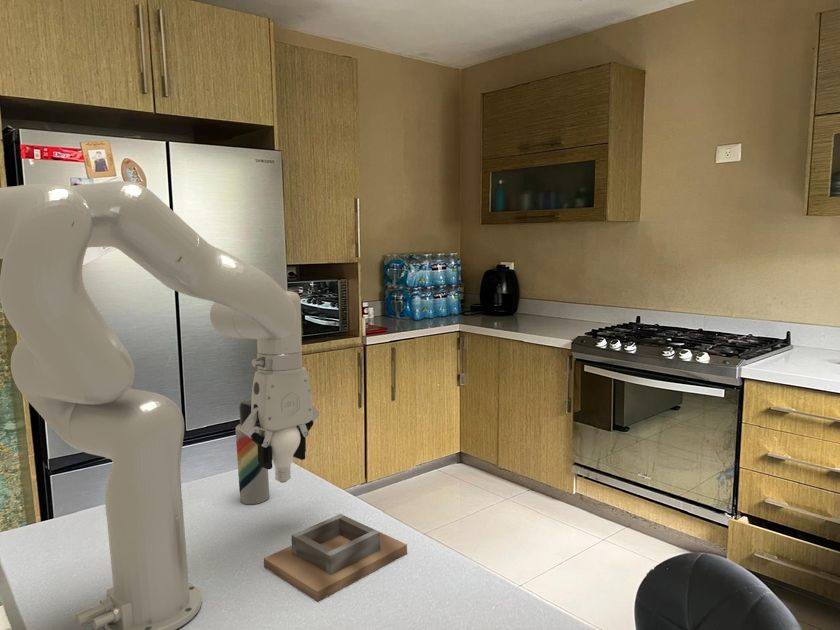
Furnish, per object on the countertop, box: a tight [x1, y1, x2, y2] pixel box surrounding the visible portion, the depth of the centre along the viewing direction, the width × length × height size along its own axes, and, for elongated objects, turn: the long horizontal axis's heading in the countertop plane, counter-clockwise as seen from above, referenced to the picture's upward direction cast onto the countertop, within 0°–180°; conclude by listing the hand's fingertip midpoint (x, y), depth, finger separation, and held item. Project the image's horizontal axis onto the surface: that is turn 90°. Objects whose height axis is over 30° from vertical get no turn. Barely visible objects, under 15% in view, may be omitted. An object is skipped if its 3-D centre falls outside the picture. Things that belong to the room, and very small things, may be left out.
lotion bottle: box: [235, 400, 270, 505], centre depth 123 cm, size 6×6×20 cm
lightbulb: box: [269, 426, 301, 484], centre depth 110 cm, size 6×6×11 cm
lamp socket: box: [263, 513, 408, 602], centre depth 100 cm, size 18×14×4 cm
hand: (282, 461), depth 110 cm, fingers closed on lightbulb, 6 cm apart
